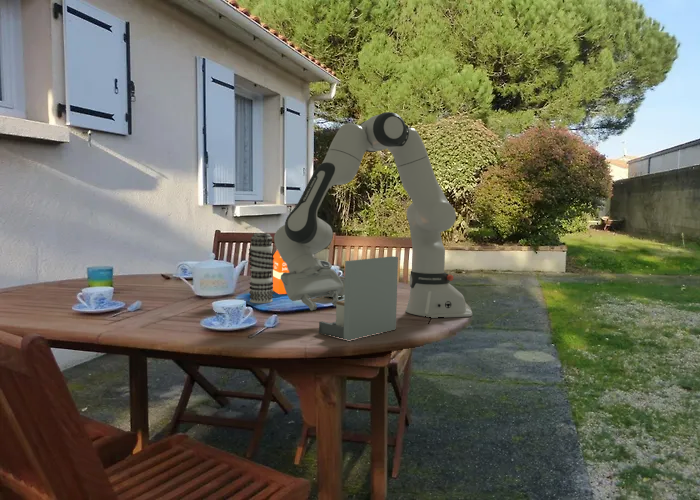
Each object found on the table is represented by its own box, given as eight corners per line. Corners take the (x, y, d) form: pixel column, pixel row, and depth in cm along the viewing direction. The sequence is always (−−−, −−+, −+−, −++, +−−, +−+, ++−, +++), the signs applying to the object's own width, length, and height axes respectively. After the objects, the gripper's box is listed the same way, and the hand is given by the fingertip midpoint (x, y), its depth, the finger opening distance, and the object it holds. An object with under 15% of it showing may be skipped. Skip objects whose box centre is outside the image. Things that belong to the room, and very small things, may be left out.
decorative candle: (244, 299, 209) (245, 232, 206) (268, 298, 213) (268, 232, 211) (253, 304, 201) (253, 234, 198) (277, 302, 205) (278, 234, 203)
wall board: (366, 323, 176) (368, 253, 174) (395, 330, 167) (398, 257, 165) (319, 333, 162) (320, 257, 159) (348, 341, 153) (350, 261, 151)
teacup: (322, 293, 225) (323, 274, 224) (349, 295, 223) (350, 275, 222) (315, 300, 211) (316, 279, 210) (344, 301, 210) (344, 280, 209)
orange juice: (278, 294, 222) (279, 243, 220) (272, 290, 230) (273, 241, 228) (297, 293, 225) (298, 243, 223) (290, 289, 233) (291, 241, 231)
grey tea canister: (349, 329, 165) (349, 299, 164) (362, 332, 161) (363, 302, 160) (335, 332, 161) (336, 301, 160) (349, 336, 157) (350, 304, 156)
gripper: (283, 266, 163) (304, 305, 158) (333, 261, 178) (355, 296, 172) (273, 280, 167) (294, 317, 161) (323, 274, 182) (344, 308, 176)
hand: (326, 306), depth 167 cm, fingers open, 8 cm apart
